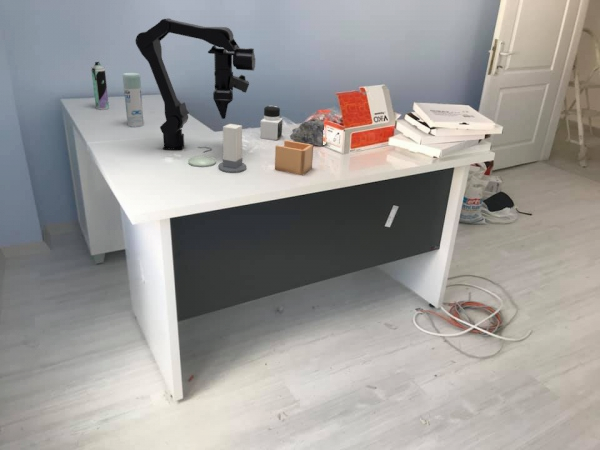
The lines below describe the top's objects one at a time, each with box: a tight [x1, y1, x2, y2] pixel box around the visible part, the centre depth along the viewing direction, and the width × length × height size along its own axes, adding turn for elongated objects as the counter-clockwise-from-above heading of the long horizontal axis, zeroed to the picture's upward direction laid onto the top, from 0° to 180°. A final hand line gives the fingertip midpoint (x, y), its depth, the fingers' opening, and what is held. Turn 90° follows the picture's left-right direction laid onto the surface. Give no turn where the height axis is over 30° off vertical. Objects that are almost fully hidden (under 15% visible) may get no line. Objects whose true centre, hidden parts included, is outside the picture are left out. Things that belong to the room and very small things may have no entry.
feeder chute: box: [274, 139, 315, 176], centre depth 163 cm, size 10×8×8 cm
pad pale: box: [187, 155, 217, 168], centre depth 165 cm, size 9×9×1 cm
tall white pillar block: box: [222, 123, 243, 169], centre depth 159 cm, size 5×5×13 cm
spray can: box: [90, 61, 110, 111], centre depth 219 cm, size 6×6×20 cm
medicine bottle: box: [259, 105, 283, 141], centre depth 194 cm, size 7×7×12 cm
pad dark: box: [217, 161, 247, 174], centre depth 162 cm, size 9×9×1 cm
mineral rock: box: [289, 117, 325, 147], centre depth 190 cm, size 13×11×10 cm
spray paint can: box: [122, 72, 145, 128], centre depth 197 cm, size 6×6×20 cm
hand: (223, 115), depth 171 cm, fingers open, 9 cm apart
